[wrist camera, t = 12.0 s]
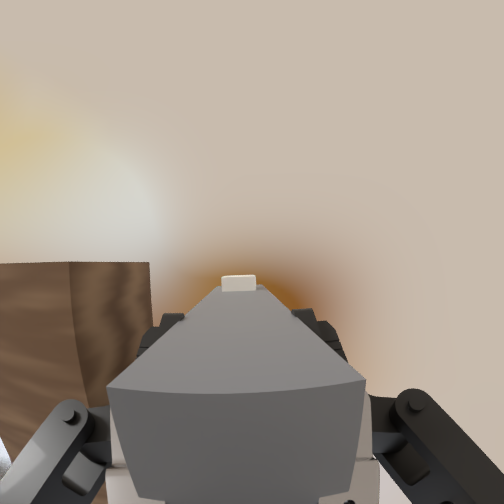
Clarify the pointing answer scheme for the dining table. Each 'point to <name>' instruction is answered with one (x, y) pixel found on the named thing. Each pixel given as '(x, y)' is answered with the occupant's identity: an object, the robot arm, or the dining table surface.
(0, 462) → the dining table surface
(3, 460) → the dining table surface
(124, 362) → the walnut stand
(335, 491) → the bar
